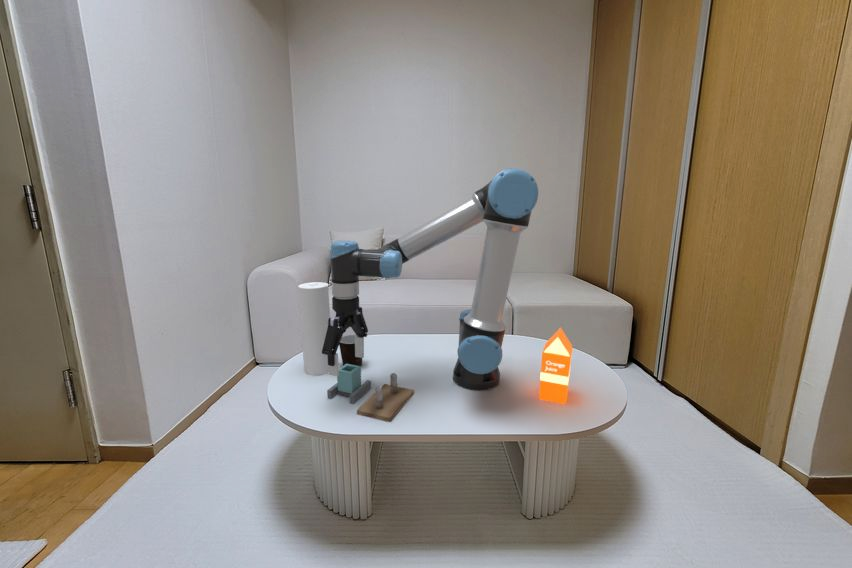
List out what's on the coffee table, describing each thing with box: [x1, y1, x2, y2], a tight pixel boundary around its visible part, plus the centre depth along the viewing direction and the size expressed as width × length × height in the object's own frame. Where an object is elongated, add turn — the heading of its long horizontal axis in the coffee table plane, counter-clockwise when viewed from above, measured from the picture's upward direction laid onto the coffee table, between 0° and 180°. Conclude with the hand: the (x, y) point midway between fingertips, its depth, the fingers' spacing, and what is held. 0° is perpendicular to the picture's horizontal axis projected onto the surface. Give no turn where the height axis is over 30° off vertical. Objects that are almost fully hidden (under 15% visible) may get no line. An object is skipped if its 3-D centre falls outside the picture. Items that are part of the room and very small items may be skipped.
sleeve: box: [336, 364, 362, 399], centre depth 111 cm, size 5×5×8 cm
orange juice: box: [538, 327, 573, 405], centre depth 109 cm, size 8×9×20 cm
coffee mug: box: [338, 334, 363, 367], centre depth 128 cm, size 12×9×10 cm
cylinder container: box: [297, 281, 331, 376], centre depth 125 cm, size 9×9×30 cm
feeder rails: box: [326, 379, 372, 405], centre depth 112 cm, size 9×10×2 cm
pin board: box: [356, 372, 415, 423], centre depth 106 cm, size 10×16×7 cm, turn 158°
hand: (347, 365), depth 110 cm, fingers open, 13 cm apart
